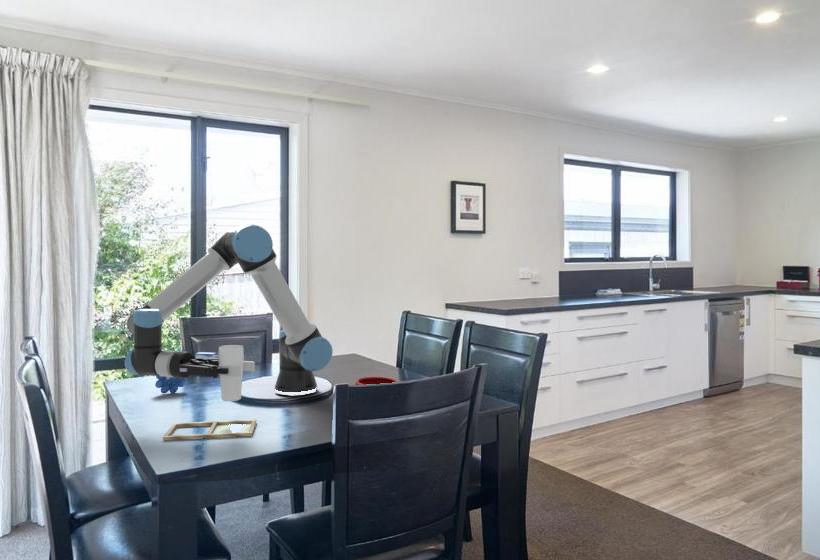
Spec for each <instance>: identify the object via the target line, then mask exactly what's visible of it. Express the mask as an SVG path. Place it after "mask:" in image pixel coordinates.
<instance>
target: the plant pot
mask: <svg viewBox="0 0 820 560" xmlns="http://www.w3.org/2000/svg"><path fill="white" fill-rule="evenodd" d="M392 382H399V381H398V380H397V379H394V378H391V377H384V376H366V377H365V376H364V377H360V378H357V379H356V380H355V385H366V384H376V385H378V384H380V383H392ZM355 385H354V386H355Z"/></svg>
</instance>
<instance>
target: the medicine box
mask: <svg viewBox="0 0 820 560" xmlns="http://www.w3.org/2000/svg"><path fill="white" fill-rule="evenodd" d="M218 355H219V352H207V351H205V352H204V351H199V352H196V353H195V359H196V358H203V359H207V358H208V357H210V358H218Z"/></svg>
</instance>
